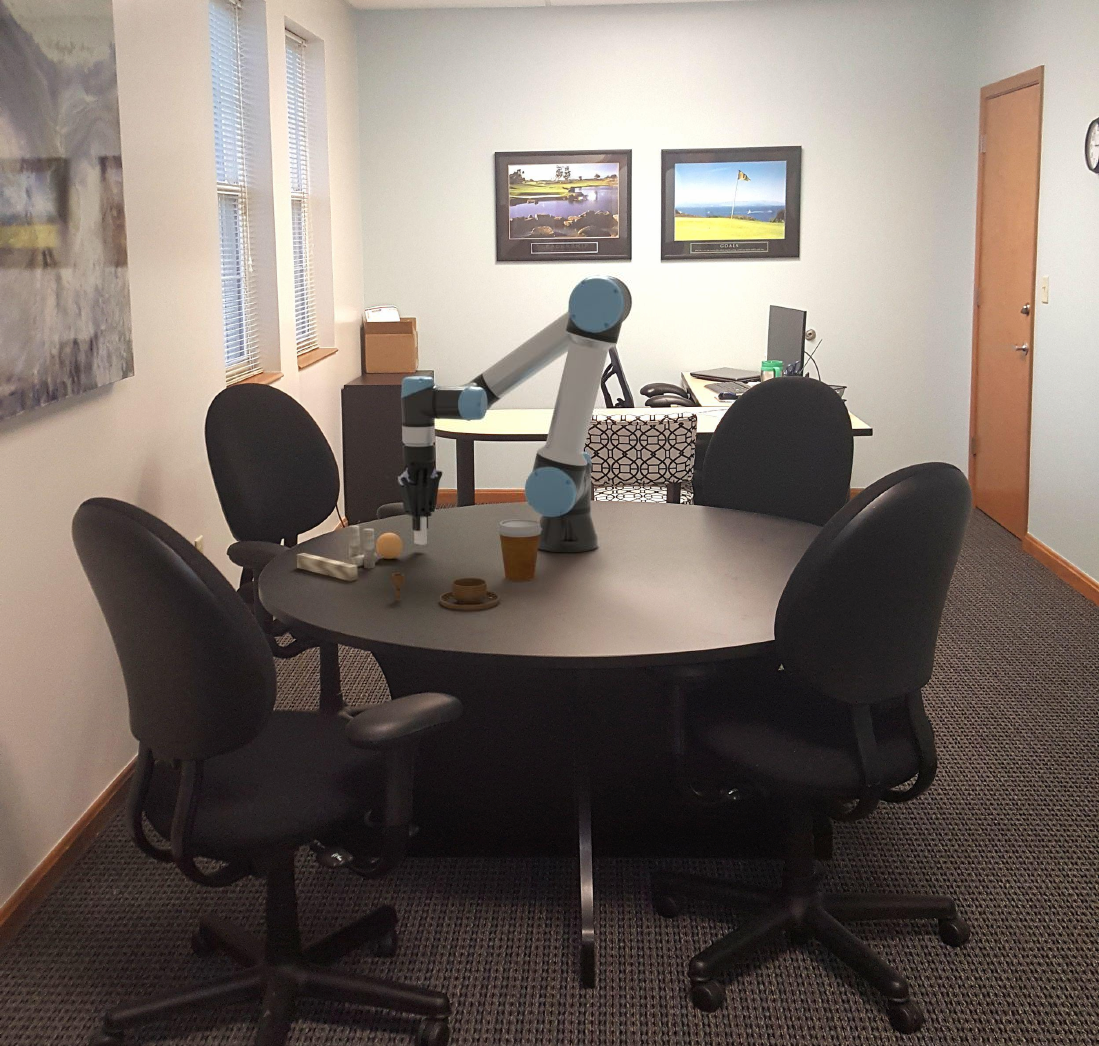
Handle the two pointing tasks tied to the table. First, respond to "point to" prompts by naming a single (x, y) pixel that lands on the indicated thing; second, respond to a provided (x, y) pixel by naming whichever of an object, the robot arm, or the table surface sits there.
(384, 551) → the ball
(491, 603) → the place setting
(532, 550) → the disposable coffee cup
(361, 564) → the front pin
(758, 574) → the table surface
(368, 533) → the back pin left
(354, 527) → the back pin right
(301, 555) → the white marbled bar
